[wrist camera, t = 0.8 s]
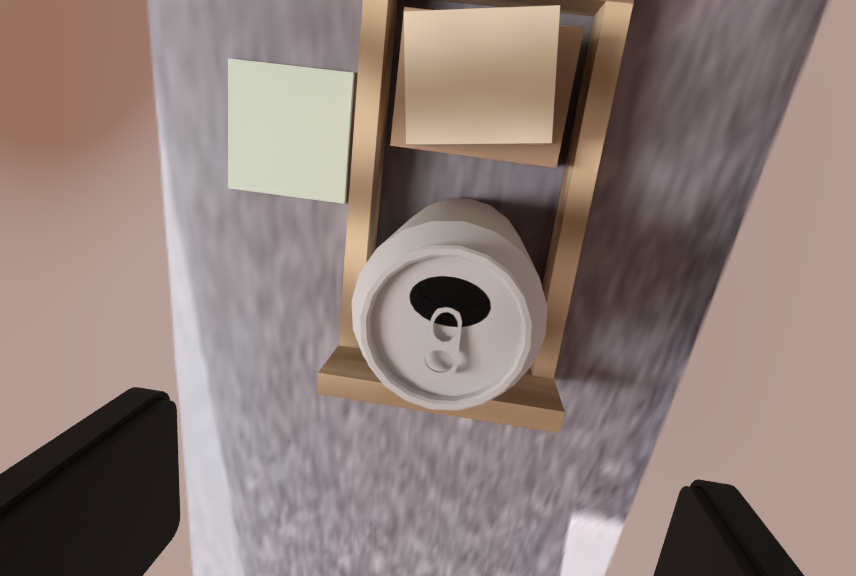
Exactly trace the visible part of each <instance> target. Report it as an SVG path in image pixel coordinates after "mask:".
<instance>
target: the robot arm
mask: <svg viewBox="0 0 856 576" xmlns="http://www.w3.org/2000/svg"><path fill="white" fill-rule="evenodd" d="M179 522H180V496H179V466H178V436H177V409H176V405H175V403H174V402H173V401H170V398H169V396H168V394H167V393H165V392H163V391H157V390H151V389H145V388H138V387H133V388H131V389H129V390H127V391H125V392H124V393H122V394H121V395H119V396H118V397H116V398H115V399H113V400H112V401H110V402H109V403H107V404H106V405H104V406H103V407H101V408H100V409H98V410H97V411H95V412H94V413H92V414H91V415H89V416H87V417H86V418H84V419H83V420H81V421H80V422H78V423H77V424H76V425H74V426H72V427H71V428H69V429H68V430H66V431H65V432H63V433H62V434H60V435H59V436H57V437H56V438H54V439H53V440H51V441H50V442H48V443H47V444H45V445H44V446H42V447H40V448H39V449H37V450H36V451H34V452H33V453H31V454H30V455H28V456H27V457H25V458H24V459H22V460H21V461H19V462H18V463H16V464H15V465H13V466H12V467H10V468H9V469H7V470H6V471H4V472H3V473H1V474H0V576H143V575H144V573H145V572H146V571H147V570H148V568H149V567H150V566H151V565H152V563H153V562H154V561H155V559H157V557H158V556H159V555H160V554H161V552H162V551H163V550H164V549H165V547H166V546H167V545H168V544H169V542H170V541H171V540H172V538H173V537H174V535H175V533H176V531H177V529H178V526H179ZM654 576H804V575H803V573H802V572H801V571H800V570H799V568H798V567H797V566H796V564H795V563H794V562H793V561H792V559H791V558H790V557H789V555H788V554H787V553H786V551H785V550H784V549H783V548H782V546H781V545H780V544H779V542H778V541H777V540H776V539H775V537H774V536H773V535H772V533H771V532H770V531H769V530H768V528H767V527H766V526H765V524H764V523H763V522H762V520H761V519H760V518H759V517H758V515H757V514H756V513H755V511H754V510H753V509H752V508H751V506H750V505H749V504H748V503H747V501H746V500H745V499H744V497H743V496H742V495H741V493H740V492H739V491H738V490H737V489H736V488H735V487H734V486H732V485H729V484H722V483H716V482H710V481H704V480H695V481H693V483H692V484H691V486H690V487H688V486H685V487H683V488H682V489H681V491H680V493H679V496H678V499H677V502H676V506H675V509H674V512H673V515H672V518H671V521H670V525H669V528H668V531H667V534H666V538H665V541H664V544H663V547H662V550H661V554H660V557H659V560H658V563H657V566H656V569H655V573H654Z"/></svg>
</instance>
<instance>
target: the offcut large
mask: <svg viewBox="0 0 856 576" xmlns="http://www.w3.org/2000/svg"><path fill="white" fill-rule="evenodd" d="M426 10H427V9H418V8H409V7H404V11H426ZM583 32H584V27H576V26H567V25H559V33H558V49H557V65H556V82H555V98H554V114H553V131H552V143H550V144H543V145H433V146H414V145H406V115H405V60H404V15H403V25H402V35H401V45H400V55H399V64H398V74H397V84H396V94H395V104H394V114H393V123H392V133H391V143H390V146H397V147H405V148H412V149H420V150H427V151H434V152H442V153H449V154H457V155H464V156H472V157H479V158H487V159H494V160H502V161H509V162H516V163H524V164H531V165H539V166H546V167H554V168H557V163H558V158H559V153H560V148H561V143H562V137H563V132H564V127H565V122H566V117H567V112H568V107H569V102H570V97H571V92H572V87H573V82H574V77H575V72H576V67H577V62H578V57H579V52H580V47H581V42H582V37H583Z"/></svg>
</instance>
